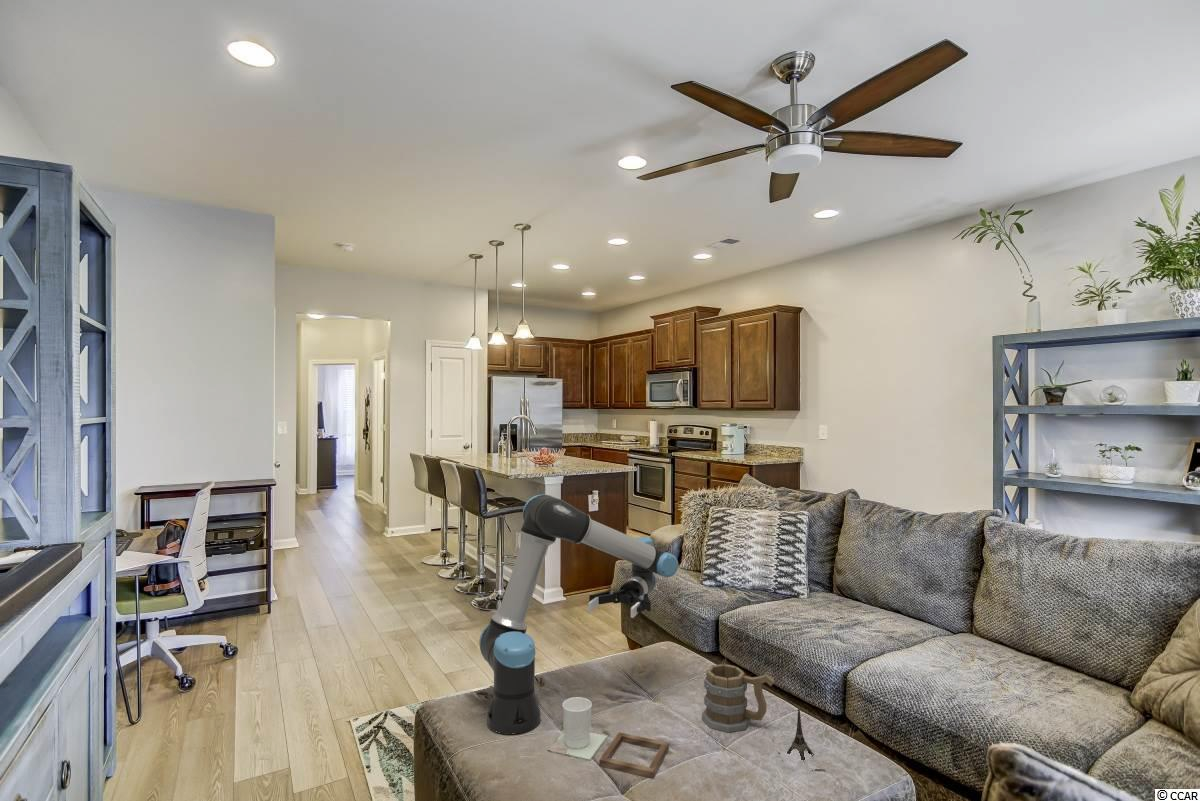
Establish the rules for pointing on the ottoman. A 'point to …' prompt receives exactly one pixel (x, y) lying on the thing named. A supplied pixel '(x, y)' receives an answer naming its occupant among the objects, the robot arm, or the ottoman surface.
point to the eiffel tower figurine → (800, 742)
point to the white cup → (577, 722)
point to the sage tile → (590, 749)
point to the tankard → (731, 698)
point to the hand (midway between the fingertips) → (610, 610)
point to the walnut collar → (629, 767)
